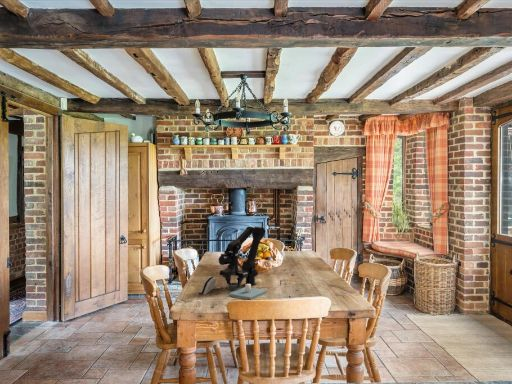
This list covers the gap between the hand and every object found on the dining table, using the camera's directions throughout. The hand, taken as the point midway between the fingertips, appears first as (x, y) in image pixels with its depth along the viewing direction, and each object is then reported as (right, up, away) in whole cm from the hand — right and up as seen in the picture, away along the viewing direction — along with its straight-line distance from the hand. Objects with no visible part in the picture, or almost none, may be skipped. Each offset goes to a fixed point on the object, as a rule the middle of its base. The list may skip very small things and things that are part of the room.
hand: (233, 287), depth 261 cm
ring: (0, -1, 0) cm, 1 cm away
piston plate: (+9, -1, -13) cm, 16 cm away
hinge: (-16, -2, -5) cm, 17 cm away
